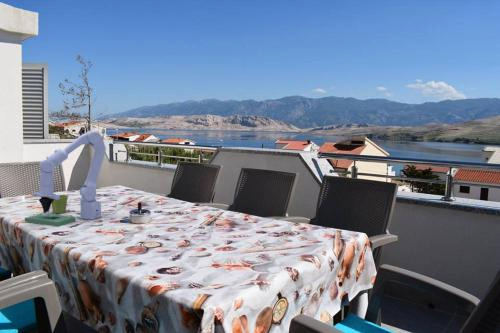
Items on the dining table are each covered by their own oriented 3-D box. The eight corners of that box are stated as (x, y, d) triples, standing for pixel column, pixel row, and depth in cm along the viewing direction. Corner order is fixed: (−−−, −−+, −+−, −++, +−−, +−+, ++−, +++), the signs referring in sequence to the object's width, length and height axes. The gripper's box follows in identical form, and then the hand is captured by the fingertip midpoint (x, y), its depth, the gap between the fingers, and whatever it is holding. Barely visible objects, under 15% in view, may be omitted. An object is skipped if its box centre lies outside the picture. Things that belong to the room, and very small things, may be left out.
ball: (46, 212, 194) (49, 218, 193) (39, 214, 191) (42, 219, 190) (49, 208, 192) (52, 213, 191) (42, 209, 189) (45, 214, 188)
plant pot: (54, 215, 204) (54, 198, 203) (46, 212, 209) (45, 196, 208) (72, 212, 211) (72, 196, 210) (63, 209, 217) (63, 194, 216)
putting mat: (75, 221, 193) (75, 217, 193) (57, 226, 183) (57, 222, 182) (43, 216, 199) (43, 213, 199) (24, 221, 189) (24, 217, 189)
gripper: (28, 184, 188) (27, 212, 189) (51, 187, 183) (51, 216, 184) (40, 182, 194) (39, 209, 195) (63, 185, 190) (62, 213, 191)
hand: (46, 212), depth 190 cm, fingers closed, pressing on ball
